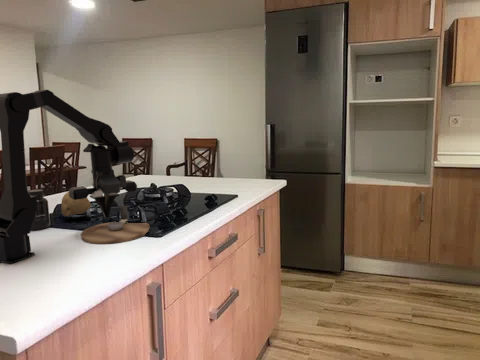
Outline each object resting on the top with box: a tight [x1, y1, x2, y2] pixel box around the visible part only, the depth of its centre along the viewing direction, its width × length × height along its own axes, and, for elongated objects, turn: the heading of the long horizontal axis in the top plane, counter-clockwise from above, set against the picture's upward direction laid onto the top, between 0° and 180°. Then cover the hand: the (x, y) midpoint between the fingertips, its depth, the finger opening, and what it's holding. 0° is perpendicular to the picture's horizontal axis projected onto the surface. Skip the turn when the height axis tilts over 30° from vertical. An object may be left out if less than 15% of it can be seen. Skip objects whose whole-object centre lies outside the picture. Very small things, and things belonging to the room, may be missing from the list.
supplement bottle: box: [28, 189, 51, 231], centre depth 119 cm, size 7×7×12 cm
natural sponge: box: [60, 191, 92, 217], centre depth 128 cm, size 9×9×10 cm
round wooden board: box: [80, 221, 150, 245], centre depth 110 cm, size 19×19×1 cm
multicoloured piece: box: [108, 205, 129, 230], centre depth 113 cm, size 10×4×5 cm, turn 177°
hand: (106, 217), depth 115 cm, fingers closed
